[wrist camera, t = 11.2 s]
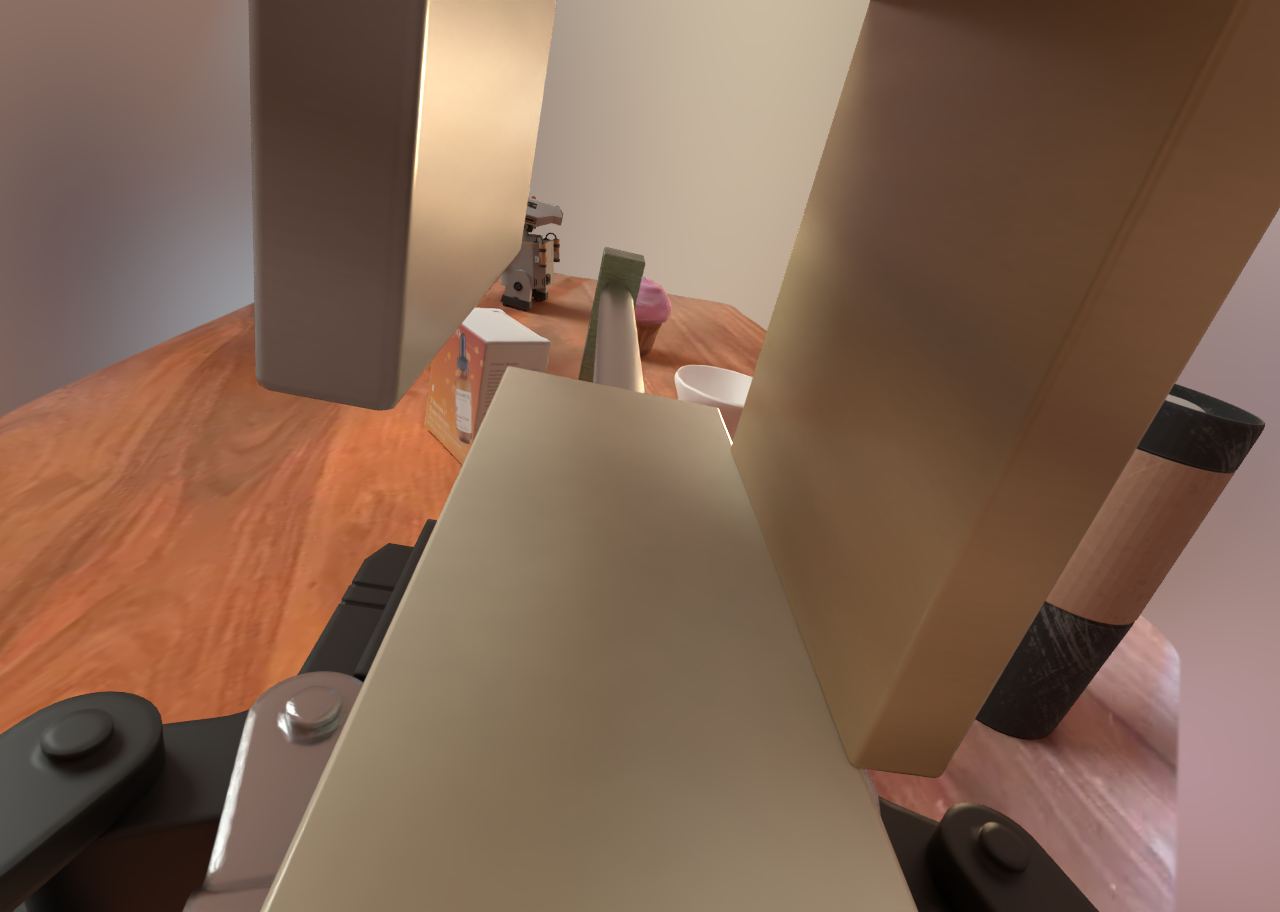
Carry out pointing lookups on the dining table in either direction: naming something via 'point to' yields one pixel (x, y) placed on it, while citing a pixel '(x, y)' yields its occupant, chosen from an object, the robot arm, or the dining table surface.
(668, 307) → the cupcake
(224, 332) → the dining table surface
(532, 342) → the small box
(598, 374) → the rack
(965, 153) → the wood block with bracket
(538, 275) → the figurine
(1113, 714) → the dining table surface
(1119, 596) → the travel mug
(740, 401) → the cup
